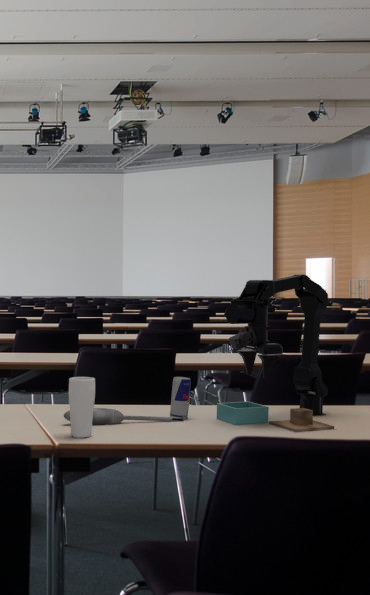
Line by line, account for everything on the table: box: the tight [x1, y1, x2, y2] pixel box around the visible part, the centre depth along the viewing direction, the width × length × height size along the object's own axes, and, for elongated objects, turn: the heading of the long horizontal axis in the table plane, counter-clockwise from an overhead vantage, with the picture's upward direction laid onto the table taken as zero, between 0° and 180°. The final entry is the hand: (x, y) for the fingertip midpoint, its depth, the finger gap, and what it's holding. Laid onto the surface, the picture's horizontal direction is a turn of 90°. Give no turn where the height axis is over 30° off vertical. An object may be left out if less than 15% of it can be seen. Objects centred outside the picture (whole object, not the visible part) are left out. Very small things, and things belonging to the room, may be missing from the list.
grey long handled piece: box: [63, 407, 185, 426], centre depth 209 cm, size 5×35×13 cm
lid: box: [268, 407, 335, 433], centre depth 202 cm, size 13×13×5 cm
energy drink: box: [169, 376, 192, 420], centre depth 214 cm, size 5×5×12 cm
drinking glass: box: [68, 376, 96, 439], centre depth 185 cm, size 7×7×15 cm
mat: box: [267, 423, 337, 434], centre depth 202 cm, size 14×14×1 cm
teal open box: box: [216, 400, 270, 426], centre depth 210 cm, size 11×11×5 cm
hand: (257, 376), depth 209 cm, fingers open, 9 cm apart
